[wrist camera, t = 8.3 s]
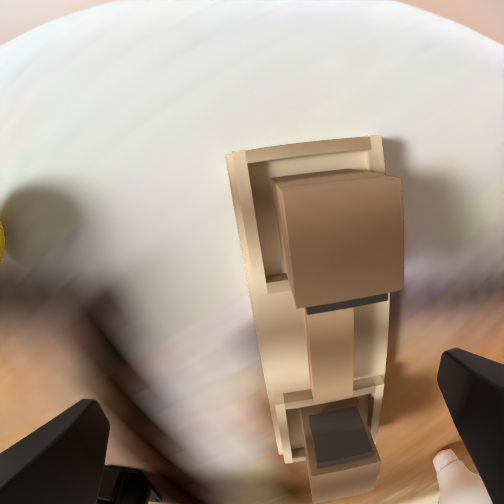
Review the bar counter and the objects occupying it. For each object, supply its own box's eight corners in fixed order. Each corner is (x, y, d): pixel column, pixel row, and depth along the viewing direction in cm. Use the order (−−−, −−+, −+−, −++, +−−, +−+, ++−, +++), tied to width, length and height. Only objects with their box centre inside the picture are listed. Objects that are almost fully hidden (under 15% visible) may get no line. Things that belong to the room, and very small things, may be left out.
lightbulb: (471, 437, 24) (510, 504, 14) (432, 470, 26) (462, 538, 15) (448, 428, 23) (491, 507, 13) (405, 465, 25) (435, 544, 14)
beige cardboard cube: (270, 177, 15) (282, 191, 10) (349, 168, 15) (401, 178, 9) (282, 266, 17) (298, 323, 11) (356, 254, 17) (402, 304, 11)
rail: (372, 426, 22) (397, 492, 15) (278, 444, 23) (283, 516, 16) (372, 136, 16) (443, 130, 9) (226, 153, 16) (208, 152, 9)
